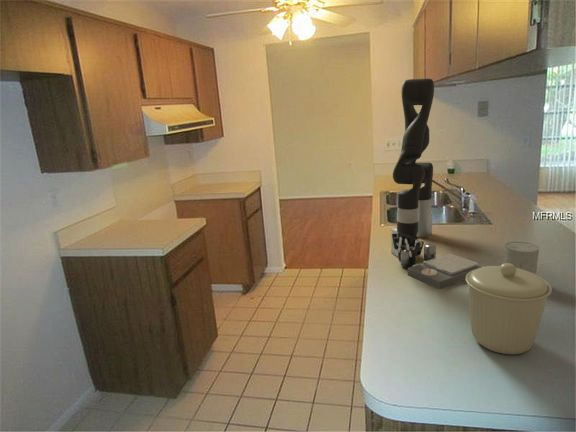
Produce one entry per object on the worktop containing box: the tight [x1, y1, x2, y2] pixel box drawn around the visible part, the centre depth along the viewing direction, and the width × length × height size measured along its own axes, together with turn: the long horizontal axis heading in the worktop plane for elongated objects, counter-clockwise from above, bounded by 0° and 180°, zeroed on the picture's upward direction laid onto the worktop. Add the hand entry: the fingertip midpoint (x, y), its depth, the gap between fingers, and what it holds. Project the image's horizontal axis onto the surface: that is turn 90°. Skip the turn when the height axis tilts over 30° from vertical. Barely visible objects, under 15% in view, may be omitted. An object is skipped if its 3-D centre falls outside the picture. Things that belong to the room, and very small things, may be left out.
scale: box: [407, 263, 482, 289], centre depth 139 cm, size 21×14×3 cm, turn 119°
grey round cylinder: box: [503, 241, 540, 275], centre depth 129 cm, size 10×10×12 cm
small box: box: [390, 227, 413, 258], centre depth 159 cm, size 8×6×10 cm
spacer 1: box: [400, 248, 413, 268], centre depth 146 cm, size 4×4×6 cm
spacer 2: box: [423, 242, 437, 262], centre depth 152 cm, size 4×4×6 cm
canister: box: [464, 262, 553, 356], centre depth 96 cm, size 18×18×21 cm
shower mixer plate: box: [422, 253, 480, 275], centre depth 140 cm, size 14×12×1 cm
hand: (406, 263), depth 147 cm, fingers closed on spacer 1, 4 cm apart
